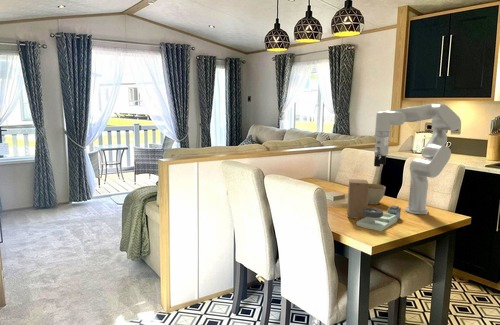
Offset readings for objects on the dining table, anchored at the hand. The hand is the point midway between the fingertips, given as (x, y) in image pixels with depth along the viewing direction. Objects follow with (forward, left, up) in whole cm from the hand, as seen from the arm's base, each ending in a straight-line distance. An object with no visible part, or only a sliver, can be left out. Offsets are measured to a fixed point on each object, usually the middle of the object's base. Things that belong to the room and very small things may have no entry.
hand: (379, 165), depth 212 cm
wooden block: (+7, -9, -29) cm, 31 cm away
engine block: (-3, +9, -29) cm, 31 cm away
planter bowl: (-26, -14, -29) cm, 42 cm away
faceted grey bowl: (+19, +6, -23) cm, 30 cm away
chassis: (+12, +6, -29) cm, 32 cm away
